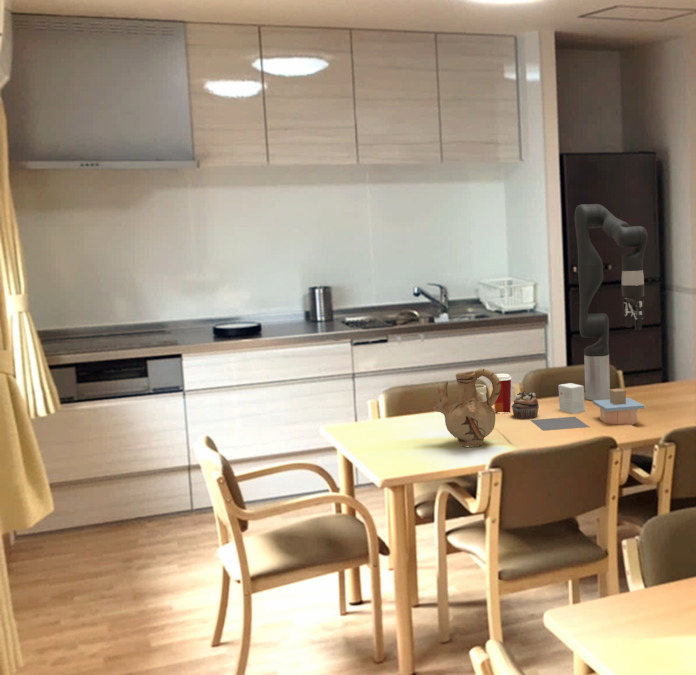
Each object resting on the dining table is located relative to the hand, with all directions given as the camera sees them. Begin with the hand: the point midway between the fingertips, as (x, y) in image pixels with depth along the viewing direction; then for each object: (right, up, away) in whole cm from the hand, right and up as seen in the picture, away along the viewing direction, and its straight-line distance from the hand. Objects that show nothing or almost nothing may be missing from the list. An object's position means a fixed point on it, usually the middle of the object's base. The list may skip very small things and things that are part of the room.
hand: (633, 328), depth 305 cm
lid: (-9, -27, -12) cm, 31 cm away
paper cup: (-44, -31, +16) cm, 56 cm away
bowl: (-9, -32, -12) cm, 36 cm away
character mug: (-55, -34, +4) cm, 65 cm away
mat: (-29, -34, -11) cm, 46 cm away
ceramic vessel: (-62, -38, -25) cm, 77 cm away
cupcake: (-38, -33, +3) cm, 50 cm away
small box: (-20, -31, +7) cm, 38 cm away
